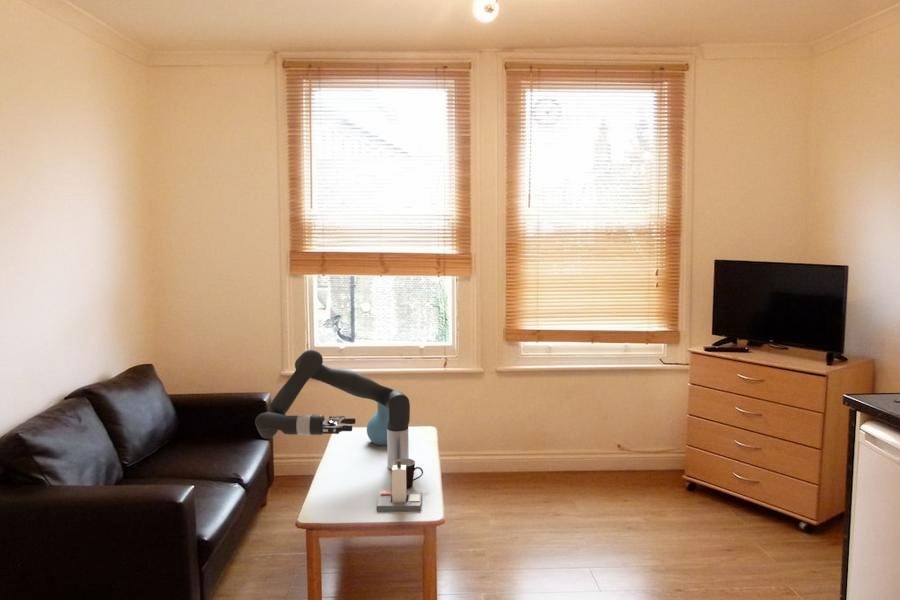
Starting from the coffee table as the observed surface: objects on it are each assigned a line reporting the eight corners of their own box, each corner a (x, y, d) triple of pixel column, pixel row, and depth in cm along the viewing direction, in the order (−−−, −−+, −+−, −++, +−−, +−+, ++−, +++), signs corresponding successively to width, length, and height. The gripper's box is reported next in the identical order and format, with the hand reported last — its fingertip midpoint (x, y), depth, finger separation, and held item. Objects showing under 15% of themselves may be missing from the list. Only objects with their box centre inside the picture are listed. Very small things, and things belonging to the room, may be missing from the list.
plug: (393, 500, 233) (392, 458, 231) (406, 500, 233) (406, 458, 231) (392, 505, 228) (391, 463, 226) (405, 505, 228) (405, 463, 226)
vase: (376, 450, 287) (375, 398, 285) (361, 440, 301) (360, 390, 298) (407, 443, 296) (406, 393, 294) (391, 434, 310) (390, 386, 307)
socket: (379, 497, 236) (379, 490, 236) (421, 496, 236) (421, 490, 236) (376, 511, 224) (376, 504, 224) (420, 510, 225) (420, 503, 224)
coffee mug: (389, 486, 246) (389, 462, 245) (405, 480, 252) (405, 456, 251) (408, 494, 238) (408, 470, 237) (424, 488, 244) (424, 464, 243)
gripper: (306, 420, 222) (350, 420, 222) (314, 409, 236) (356, 409, 237) (306, 440, 223) (351, 440, 223) (314, 428, 237) (356, 428, 237)
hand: (353, 424), depth 230 cm, fingers open, 8 cm apart
